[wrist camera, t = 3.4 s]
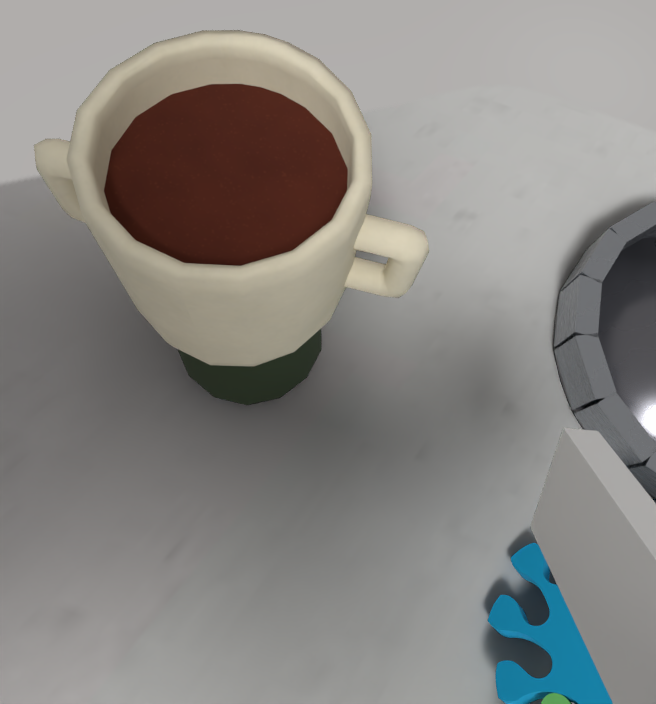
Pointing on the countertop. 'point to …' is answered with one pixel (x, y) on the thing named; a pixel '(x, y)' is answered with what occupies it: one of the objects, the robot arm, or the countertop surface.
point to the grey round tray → (614, 341)
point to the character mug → (231, 203)
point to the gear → (545, 644)
